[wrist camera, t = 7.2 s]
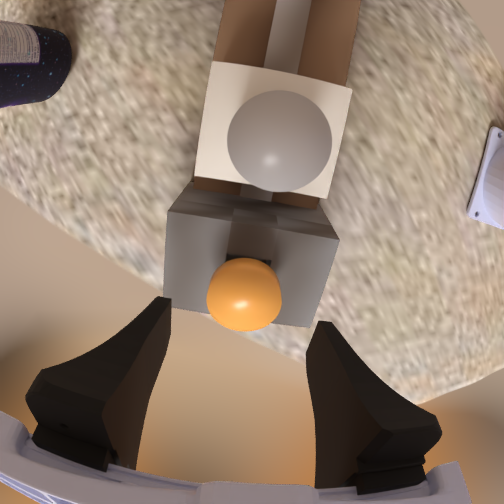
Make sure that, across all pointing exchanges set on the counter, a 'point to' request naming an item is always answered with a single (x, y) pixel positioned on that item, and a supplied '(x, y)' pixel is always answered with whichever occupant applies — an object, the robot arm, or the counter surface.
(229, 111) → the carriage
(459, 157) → the counter surface
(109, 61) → the counter surface
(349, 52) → the rail
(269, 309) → the button
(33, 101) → the beverage can
